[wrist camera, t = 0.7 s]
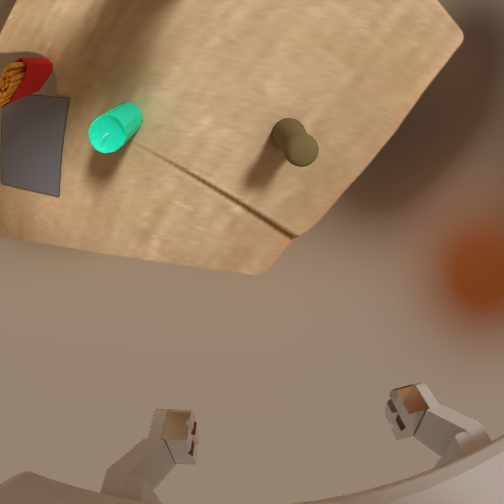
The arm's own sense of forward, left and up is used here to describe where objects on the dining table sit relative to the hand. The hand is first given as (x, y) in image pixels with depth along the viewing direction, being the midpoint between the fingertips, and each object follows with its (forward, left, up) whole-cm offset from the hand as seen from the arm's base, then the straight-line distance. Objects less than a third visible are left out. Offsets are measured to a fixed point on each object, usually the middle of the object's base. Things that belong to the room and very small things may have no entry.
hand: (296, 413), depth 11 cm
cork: (-1, +9, -48) cm, 49 cm away
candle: (+4, -19, -48) cm, 52 cm away
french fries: (-2, -39, -48) cm, 62 cm away
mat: (+12, -39, -48) cm, 63 cm away
